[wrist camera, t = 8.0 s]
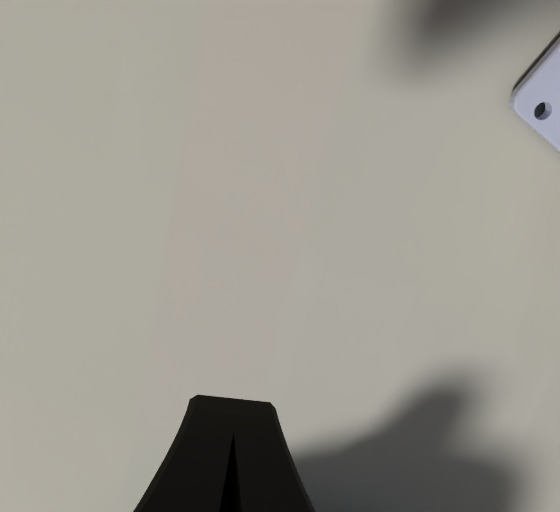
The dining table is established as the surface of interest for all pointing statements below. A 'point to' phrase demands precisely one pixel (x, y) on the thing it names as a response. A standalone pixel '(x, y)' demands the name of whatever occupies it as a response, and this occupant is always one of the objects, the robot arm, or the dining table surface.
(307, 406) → the dining table surface
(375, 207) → the dining table surface
